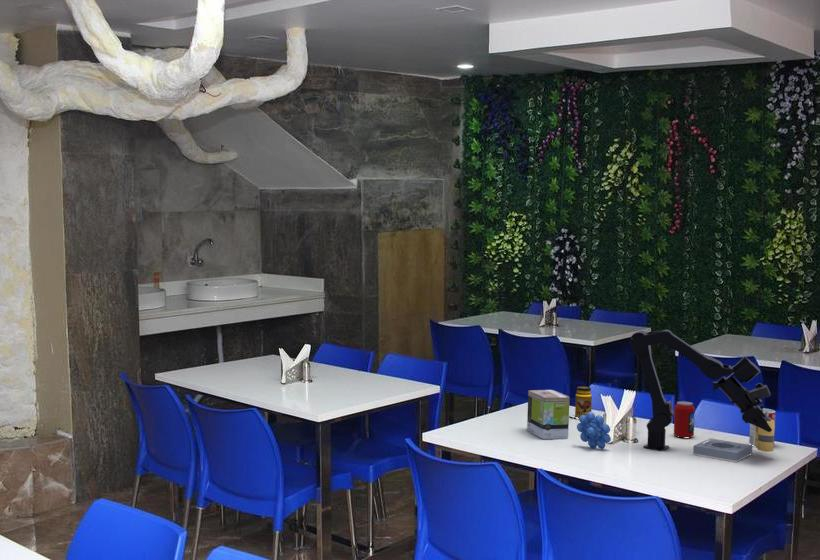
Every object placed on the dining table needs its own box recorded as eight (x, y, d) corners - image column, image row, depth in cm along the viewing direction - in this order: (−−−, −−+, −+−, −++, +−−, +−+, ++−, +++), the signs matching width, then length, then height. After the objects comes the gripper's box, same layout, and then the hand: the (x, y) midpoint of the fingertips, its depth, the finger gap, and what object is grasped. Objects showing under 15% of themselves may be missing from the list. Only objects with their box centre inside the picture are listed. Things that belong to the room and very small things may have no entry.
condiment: (583, 421, 354) (583, 389, 354) (566, 417, 361) (567, 386, 360) (596, 419, 359) (597, 387, 358) (580, 415, 365) (581, 384, 365)
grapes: (571, 448, 311) (572, 412, 310) (578, 444, 317) (579, 409, 316) (606, 453, 305) (607, 416, 305) (612, 449, 311) (613, 413, 310)
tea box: (569, 438, 325) (570, 396, 324) (542, 440, 323) (543, 397, 322) (552, 429, 340) (553, 388, 339) (526, 430, 337) (527, 389, 336)
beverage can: (696, 439, 327) (697, 404, 327) (676, 438, 328) (677, 404, 327) (690, 434, 334) (691, 401, 333) (671, 434, 334) (672, 400, 334)
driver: (770, 452, 298) (772, 414, 298) (754, 449, 302) (756, 412, 301) (775, 449, 302) (777, 412, 301) (760, 447, 305) (762, 410, 304)
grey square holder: (736, 462, 296) (736, 452, 296) (693, 454, 305) (693, 445, 305) (752, 454, 307) (752, 444, 307) (710, 447, 316) (710, 437, 316)
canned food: (778, 448, 316) (780, 412, 316) (756, 448, 315) (758, 413, 314) (766, 442, 324) (767, 407, 323) (744, 443, 323) (746, 408, 322)
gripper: (755, 380, 293) (791, 419, 290) (755, 371, 310) (790, 408, 307) (727, 403, 296) (763, 442, 293) (729, 393, 314) (763, 429, 311)
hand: (770, 429), depth 301 cm, fingers closed on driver, 5 cm apart
